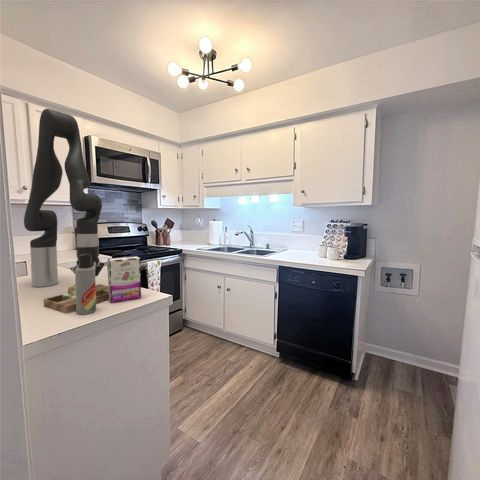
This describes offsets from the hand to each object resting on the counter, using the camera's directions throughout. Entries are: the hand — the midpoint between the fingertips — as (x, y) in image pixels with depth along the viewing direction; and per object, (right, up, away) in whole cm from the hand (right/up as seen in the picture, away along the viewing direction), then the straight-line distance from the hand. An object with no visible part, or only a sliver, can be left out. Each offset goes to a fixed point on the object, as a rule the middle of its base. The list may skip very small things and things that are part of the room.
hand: (89, 288), depth 101 cm
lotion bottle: (+8, -5, -15) cm, 17 cm away
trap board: (+1, -4, -4) cm, 6 cm away
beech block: (-2, -1, -4) cm, 4 cm away
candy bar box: (+15, -4, -1) cm, 15 cm away
